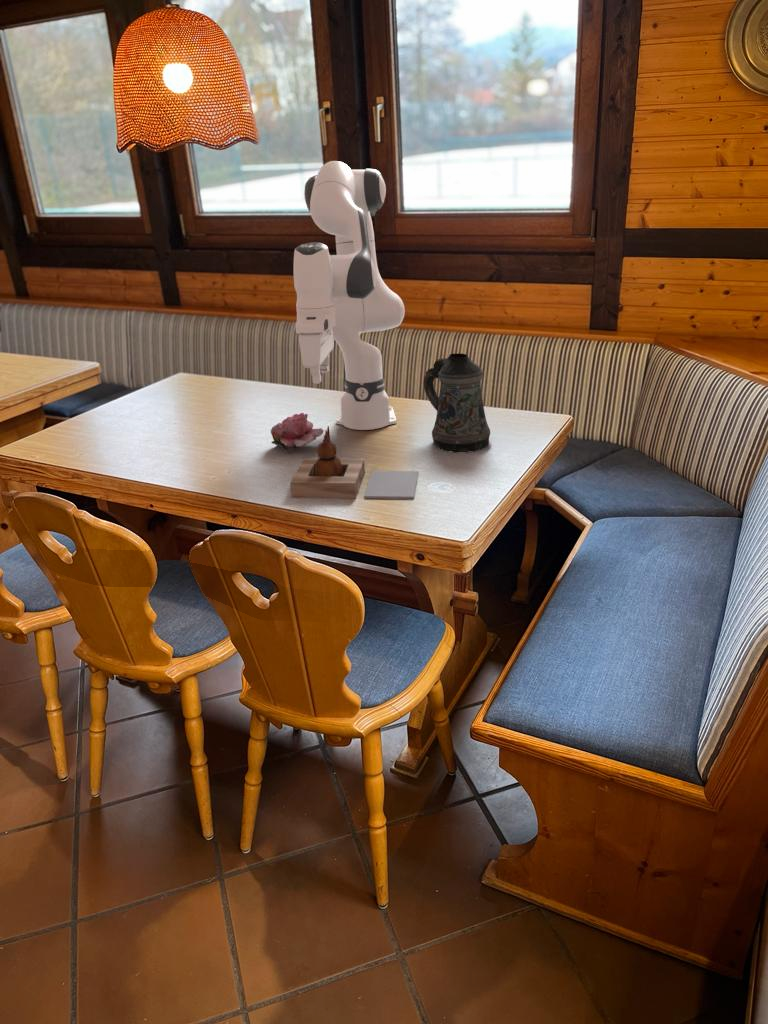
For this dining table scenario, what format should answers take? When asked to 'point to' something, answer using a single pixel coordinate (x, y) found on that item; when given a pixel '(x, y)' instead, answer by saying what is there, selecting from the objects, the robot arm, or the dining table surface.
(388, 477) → the slate mat
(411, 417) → the dining table surface
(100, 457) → the dining table surface
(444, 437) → the beer stein
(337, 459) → the wooden figurine
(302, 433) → the flower
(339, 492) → the walnut socket block
